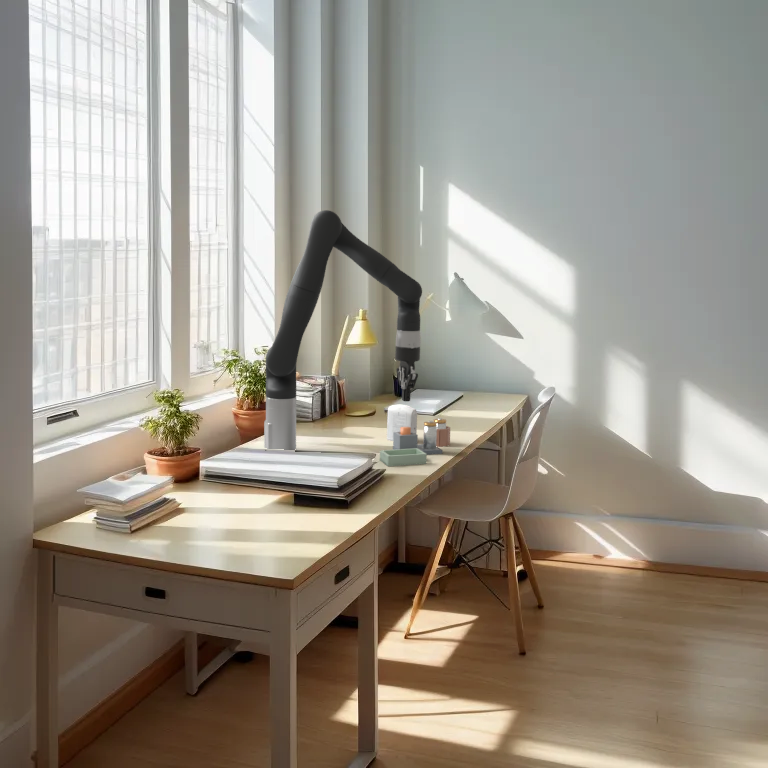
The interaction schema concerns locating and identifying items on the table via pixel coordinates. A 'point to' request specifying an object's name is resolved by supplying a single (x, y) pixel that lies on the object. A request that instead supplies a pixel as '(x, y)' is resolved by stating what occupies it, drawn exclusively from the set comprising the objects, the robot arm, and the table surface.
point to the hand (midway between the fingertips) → (406, 400)
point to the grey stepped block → (411, 443)
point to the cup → (443, 437)
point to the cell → (430, 435)
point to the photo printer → (400, 419)
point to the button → (405, 430)
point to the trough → (403, 457)
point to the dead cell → (440, 423)
